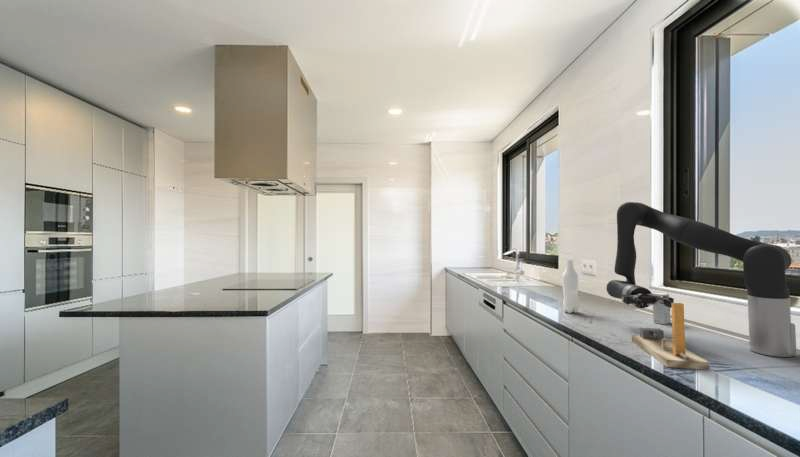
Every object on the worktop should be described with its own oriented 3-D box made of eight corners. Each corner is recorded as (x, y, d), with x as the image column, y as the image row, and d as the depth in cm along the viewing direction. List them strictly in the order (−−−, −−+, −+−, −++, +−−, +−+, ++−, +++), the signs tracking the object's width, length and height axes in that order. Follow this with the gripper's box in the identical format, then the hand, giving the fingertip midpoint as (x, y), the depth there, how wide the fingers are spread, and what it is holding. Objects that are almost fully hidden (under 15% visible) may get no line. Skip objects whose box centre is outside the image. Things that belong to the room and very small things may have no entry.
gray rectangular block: (659, 337, 123) (659, 328, 123) (667, 342, 117) (667, 332, 118) (639, 336, 124) (639, 327, 124) (646, 341, 119) (646, 331, 119)
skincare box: (665, 324, 148) (664, 294, 148) (652, 322, 152) (651, 293, 152) (671, 322, 152) (670, 293, 152) (659, 320, 155) (658, 292, 156)
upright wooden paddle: (678, 349, 109) (676, 300, 109) (695, 359, 100) (693, 306, 100) (662, 348, 110) (660, 299, 110) (678, 358, 101) (676, 305, 101)
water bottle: (559, 311, 177) (558, 260, 178) (571, 310, 180) (570, 259, 180) (570, 314, 171) (569, 261, 171) (582, 313, 173) (581, 260, 173)
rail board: (664, 342, 124) (664, 336, 124) (709, 369, 98) (708, 362, 99) (631, 340, 126) (631, 335, 126) (667, 367, 101) (666, 359, 101)
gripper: (615, 285, 136) (631, 291, 120) (658, 286, 132) (681, 293, 116) (615, 305, 135) (631, 314, 120) (659, 306, 132) (681, 316, 116)
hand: (655, 303), depth 118 cm, fingers open, 8 cm apart
